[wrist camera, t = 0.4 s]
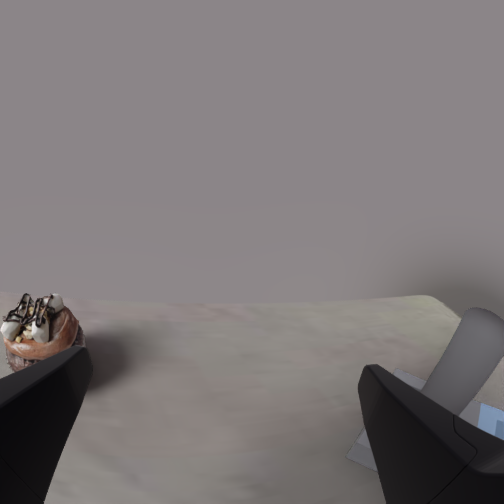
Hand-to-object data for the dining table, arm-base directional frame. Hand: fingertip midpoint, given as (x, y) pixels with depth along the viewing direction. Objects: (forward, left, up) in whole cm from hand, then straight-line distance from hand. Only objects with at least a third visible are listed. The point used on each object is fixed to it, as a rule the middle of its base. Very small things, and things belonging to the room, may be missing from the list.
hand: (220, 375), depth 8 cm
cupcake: (+13, +18, -17) cm, 28 cm away
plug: (+2, -17, -17) cm, 24 cm away
